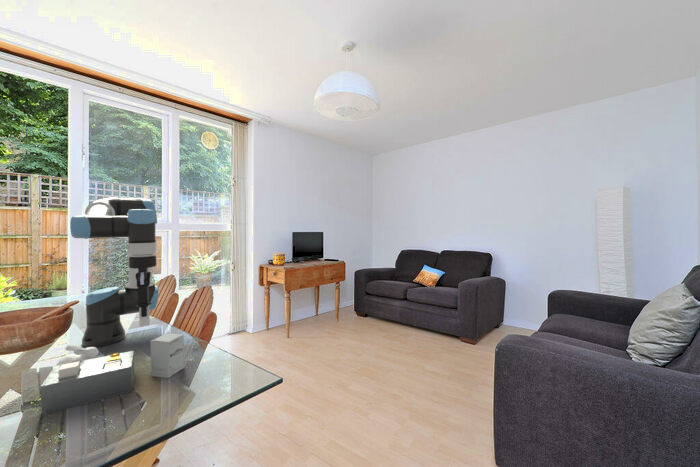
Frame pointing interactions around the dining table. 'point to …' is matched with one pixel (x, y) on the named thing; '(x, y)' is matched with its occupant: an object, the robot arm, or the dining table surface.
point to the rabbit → (78, 354)
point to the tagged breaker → (112, 364)
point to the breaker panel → (88, 383)
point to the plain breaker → (69, 369)
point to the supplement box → (167, 355)
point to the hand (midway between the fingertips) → (144, 325)
